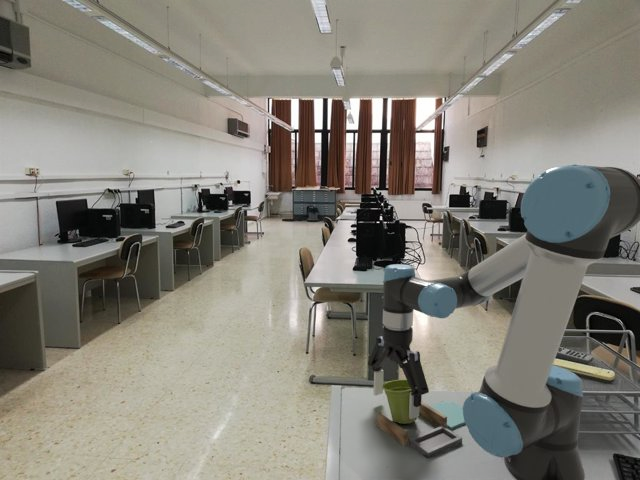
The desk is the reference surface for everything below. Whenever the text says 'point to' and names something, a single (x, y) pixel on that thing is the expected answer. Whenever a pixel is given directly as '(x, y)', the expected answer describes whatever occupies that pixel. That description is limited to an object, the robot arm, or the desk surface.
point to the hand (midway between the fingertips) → (395, 405)
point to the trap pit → (435, 441)
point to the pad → (451, 413)
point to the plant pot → (399, 400)
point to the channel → (401, 433)
